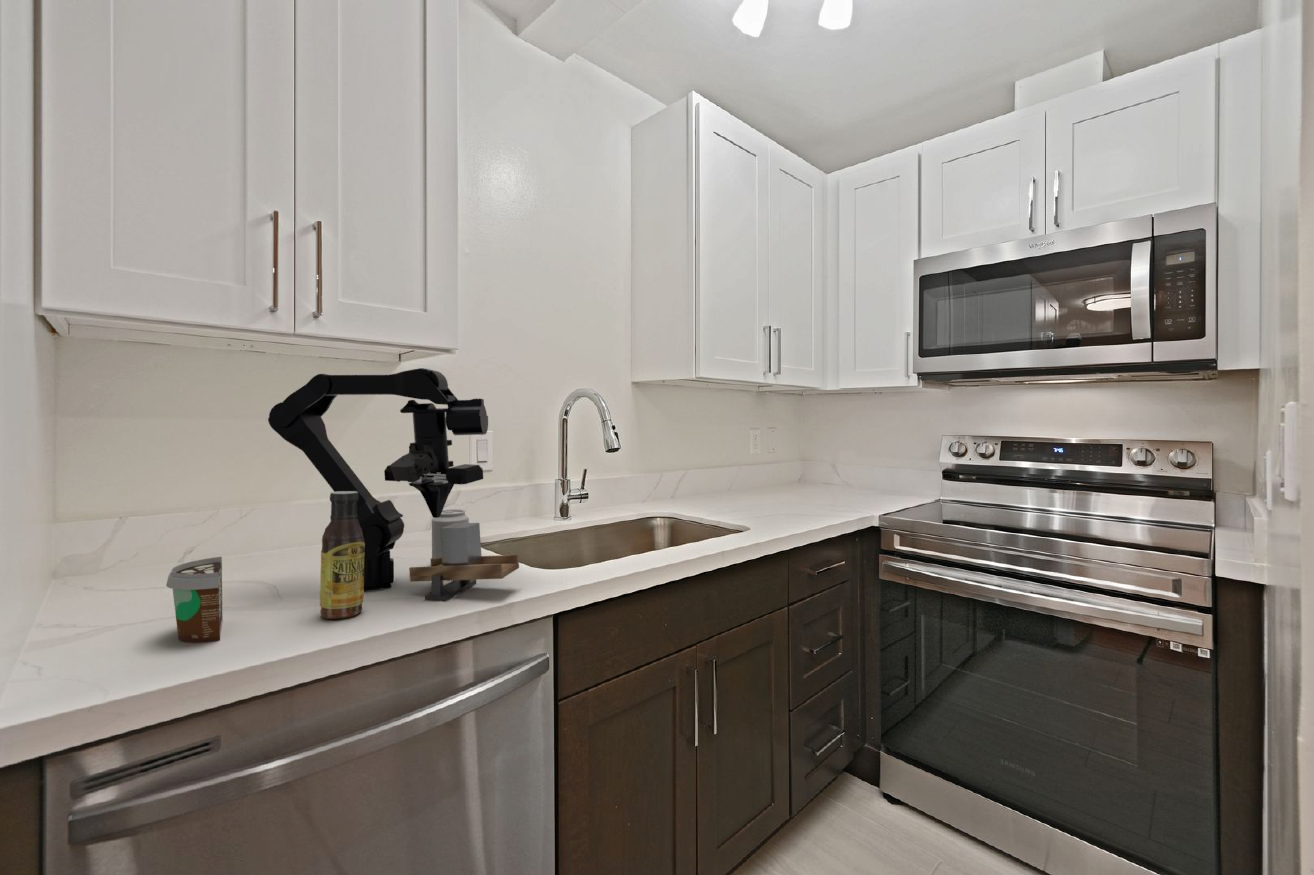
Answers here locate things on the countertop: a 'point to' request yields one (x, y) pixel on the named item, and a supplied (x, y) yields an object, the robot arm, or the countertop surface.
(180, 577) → the food container
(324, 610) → the sauce bottle
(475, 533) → the steel block
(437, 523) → the can
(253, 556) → the countertop surface
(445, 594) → the stand
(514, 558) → the beam
